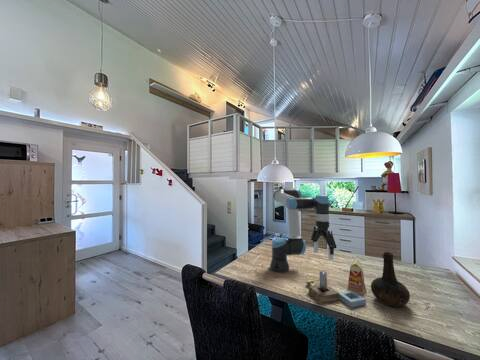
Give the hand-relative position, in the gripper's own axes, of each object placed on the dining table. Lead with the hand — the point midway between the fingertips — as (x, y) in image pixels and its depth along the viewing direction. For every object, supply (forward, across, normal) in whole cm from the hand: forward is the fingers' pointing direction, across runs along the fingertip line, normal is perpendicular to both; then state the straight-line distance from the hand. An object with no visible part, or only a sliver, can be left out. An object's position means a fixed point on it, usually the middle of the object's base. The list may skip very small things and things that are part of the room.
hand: (323, 255), depth 123 cm
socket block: (+24, 0, 0) cm, 24 cm away
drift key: (+24, -10, 0) cm, 26 cm away
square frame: (+24, +9, +12) cm, 28 cm away
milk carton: (+24, 0, +25) cm, 35 cm away
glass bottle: (+24, +16, +32) cm, 43 cm away
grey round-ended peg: (+24, 0, 0) cm, 24 cm away
